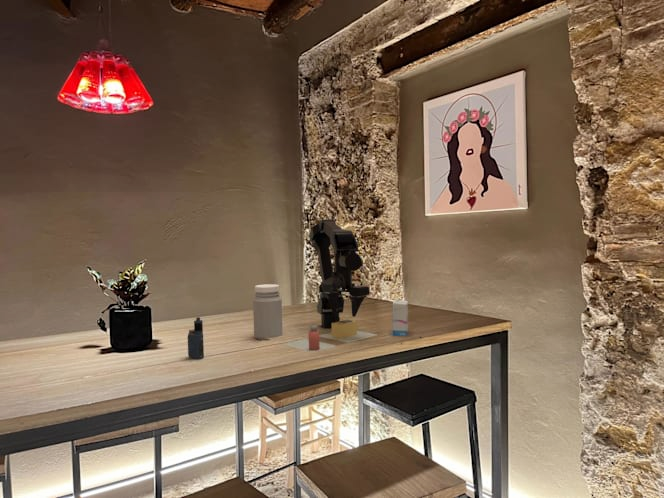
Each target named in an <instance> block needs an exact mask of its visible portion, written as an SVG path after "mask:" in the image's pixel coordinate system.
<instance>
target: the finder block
mask: <svg viewBox="0 0 664 498" xmlns="http://www.w3.org/2000/svg"><path fill="white" fill-rule="evenodd" d="M357 322H358V321H357V320H353V319H344V320H340V322H335V323H332V328H331V333H332V337H336V338H344V337H348V336H352V335H356V334H357V331H358V326H357V325H358V323H357Z"/></svg>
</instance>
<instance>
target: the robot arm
mask: <svg viewBox="0 0 664 498" xmlns="http://www.w3.org/2000/svg"><path fill="white" fill-rule="evenodd" d="M308 235H309V241H310V242H311V246H312V248H313V249H314V250H315V251H316V254H317V257H318V264H319V265H318V267H319V270H320V271H319V272H320V278H321V283H320V284H319V286H318V292H319V293H320V294H319V300H318V303H317V305H316V309H317V310H316V311H317V313H318V314H319V315H320V316H321V317H320V319H321V327H322V329H332V323H335V322H340V321H341V317H340V313H344V308H345V306H344V305H345V299H344V296H343V293H348V294H349V295H350V296H348V298H349V300H350V302H351V315H352V317H354V318H355V317H356V316H357V313H358V311H359V309H360V307H361V305H362V303H363V301H364V299H365V298H367V296H369V295H370V288H369V287H368V286H367V285H355V283H353V275H355V271H357V270H359V269H360V268H361V266H362V264H363V260H362V257H361V256H360V254H358V253H357V252H359V244H358V242H357V239H356V236H355V234H354V233H353V232H352V230H349V229H342V228H341V227H340V226H339V225H337V224H336V223H335V221H334V220H333V219H330V218H329V219H326V218H325V219H324V218H323V219H321V220H318V223H316V224H315V225H313V226H312V227H311V228H310V231H309V234H308ZM330 247H331V248H332V250H333V255H334V257H333V258H334V268H333V264H332V258H331V257H332V256H331V251H330Z"/></svg>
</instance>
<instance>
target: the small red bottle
mask: <svg viewBox="0 0 664 498" xmlns="http://www.w3.org/2000/svg"><path fill="white" fill-rule="evenodd" d="M309 328H310V330H308V338H309V350H319V349H320V344H319V335H320V330H319V329H318V325H313V324H312V325H310V326H309ZM319 351H320V350H319Z"/></svg>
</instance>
